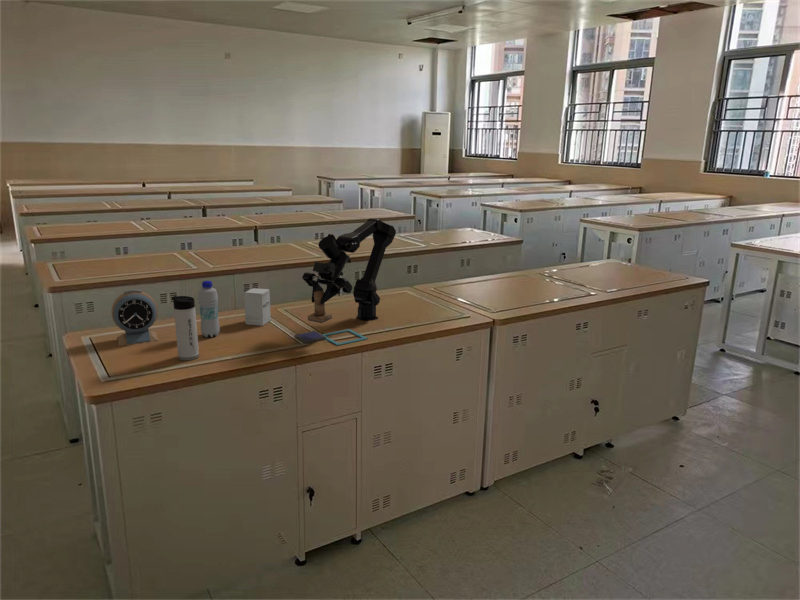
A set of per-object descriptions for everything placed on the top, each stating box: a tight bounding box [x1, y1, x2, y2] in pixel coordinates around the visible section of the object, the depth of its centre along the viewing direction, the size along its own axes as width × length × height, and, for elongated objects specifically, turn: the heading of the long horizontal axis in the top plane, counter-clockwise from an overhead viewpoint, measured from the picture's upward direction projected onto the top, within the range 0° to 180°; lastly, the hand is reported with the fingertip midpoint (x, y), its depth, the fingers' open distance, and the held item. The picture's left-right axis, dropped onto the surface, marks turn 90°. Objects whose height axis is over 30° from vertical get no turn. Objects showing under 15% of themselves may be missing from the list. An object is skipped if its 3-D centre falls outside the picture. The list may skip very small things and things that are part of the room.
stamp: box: [307, 290, 333, 324], centre depth 198 cm, size 6×6×10 cm
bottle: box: [197, 280, 221, 338], centre depth 199 cm, size 7×7×20 cm
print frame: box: [321, 328, 368, 347], centre depth 202 cm, size 12×12×1 cm
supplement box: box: [243, 287, 272, 327], centre depth 215 cm, size 7×7×13 cm
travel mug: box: [171, 295, 200, 362], centre depth 178 cm, size 6×7×20 cm
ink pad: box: [294, 330, 327, 344], centre depth 201 cm, size 8×8×1 cm
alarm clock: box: [111, 288, 159, 347], centre depth 194 cm, size 14×10×18 cm
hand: (316, 302), depth 196 cm, fingers closed on stamp, 3 cm apart
